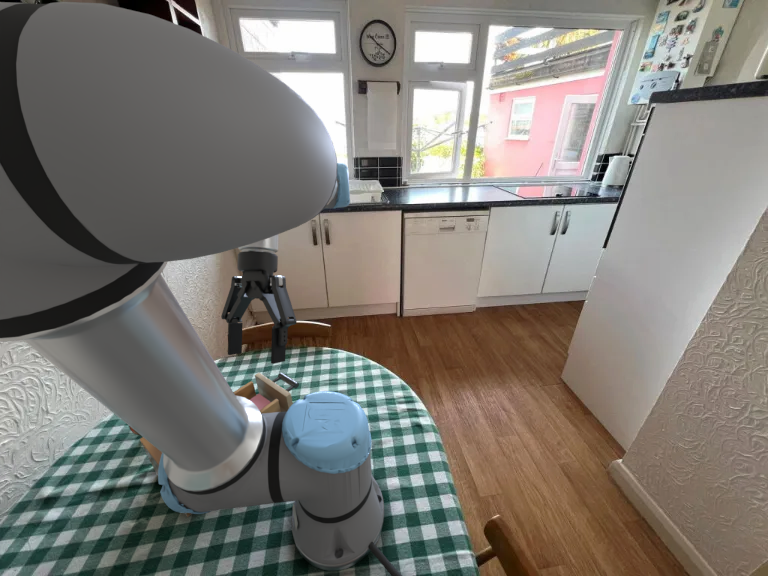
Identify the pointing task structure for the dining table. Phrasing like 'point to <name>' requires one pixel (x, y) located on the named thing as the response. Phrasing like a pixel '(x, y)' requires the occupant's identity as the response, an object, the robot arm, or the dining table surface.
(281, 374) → the drawer
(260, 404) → the block
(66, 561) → the dining table surface
